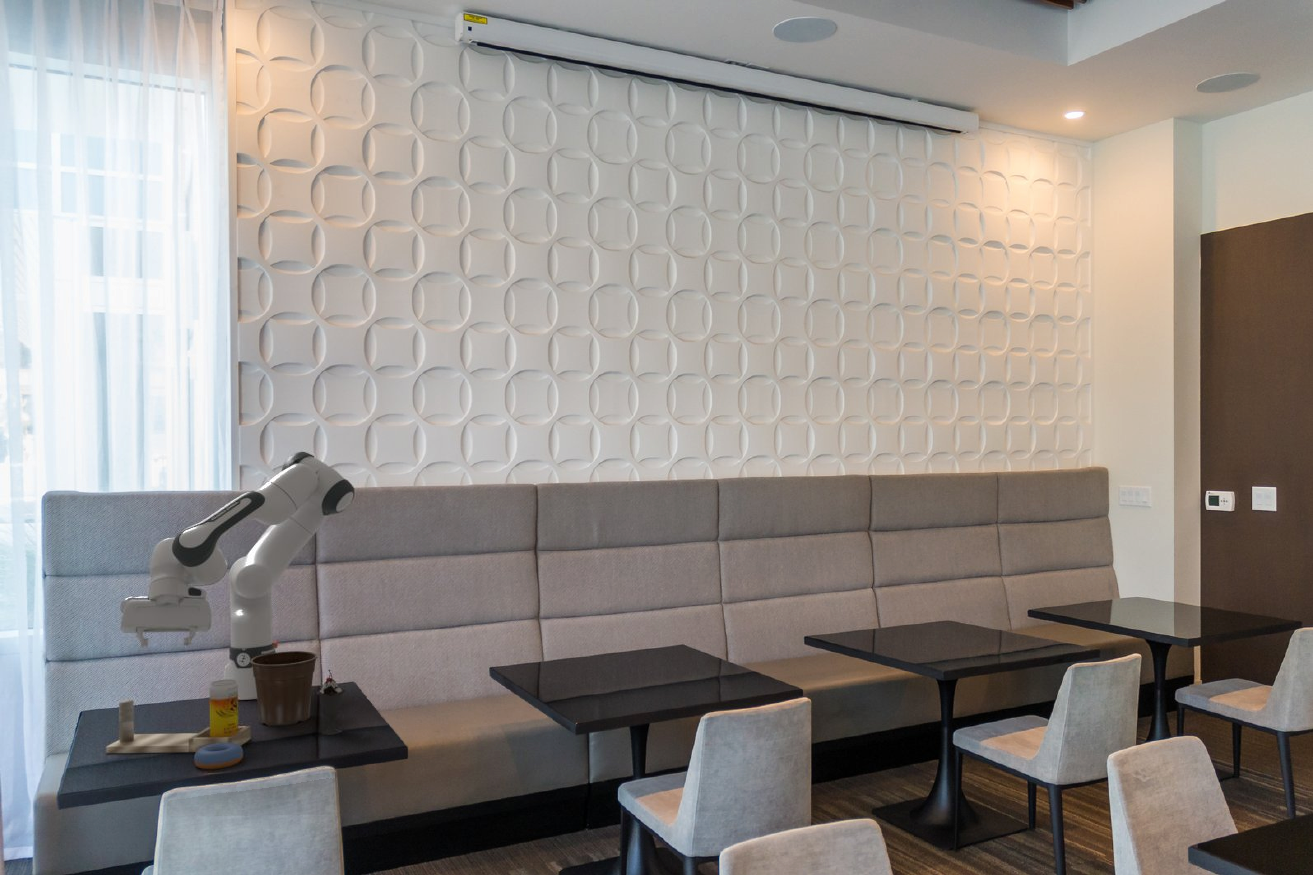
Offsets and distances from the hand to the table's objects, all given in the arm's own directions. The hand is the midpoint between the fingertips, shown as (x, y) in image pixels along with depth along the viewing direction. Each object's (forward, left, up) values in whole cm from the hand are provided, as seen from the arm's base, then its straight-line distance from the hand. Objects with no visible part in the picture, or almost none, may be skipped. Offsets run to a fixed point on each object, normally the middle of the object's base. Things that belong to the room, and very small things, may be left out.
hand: (165, 646), depth 241 cm
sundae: (0, +40, -22) cm, 46 cm away
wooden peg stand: (+10, +8, -21) cm, 25 cm away
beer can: (+10, +18, -22) cm, 30 cm away
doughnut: (+23, +23, -22) cm, 39 cm away
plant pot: (-12, +24, -22) cm, 35 cm away
